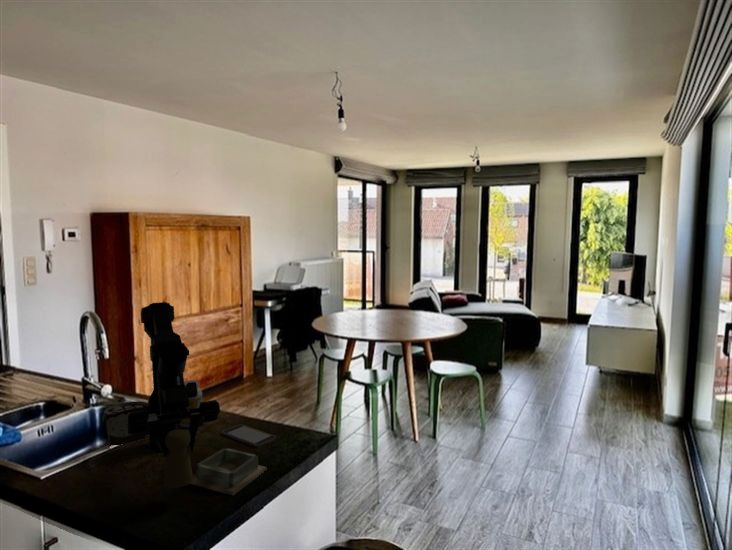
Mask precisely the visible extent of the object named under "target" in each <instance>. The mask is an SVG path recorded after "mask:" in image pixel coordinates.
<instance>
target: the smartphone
mask: <svg viewBox="0 0 732 550" xmlns="http://www.w3.org/2000/svg"><path fill="white" fill-rule="evenodd" d="M221 435H222V436H224V437H227V438H230V439H233V440H235V441H237V440H238V442H241V443H243V444H245V443H246V444H245V445H248V444H249V445H248V446H251V445H252V446H251V447H253V446H254V448H260V446H261V447H262V445H263V446H265V445H267V444H268V443H271V442H273V441H275V440H276V435H273V434H271V433H267V432H265V431H262V430H259V429H255V428H253V427H250V426H248V425H245V424H241V423H240V424H237V425H234V426H232V427H229V428H227V429H224V430H222V431H221ZM266 443H267V444H266ZM264 444H265V445H264Z"/></svg>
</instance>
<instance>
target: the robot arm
mask: <svg viewBox="0 0 732 550" xmlns="http://www.w3.org/2000/svg"><path fill="white" fill-rule="evenodd" d="M174 320H176V319H175V306H174V305H172V304H171V303H170V302H166V301H163V302H152V303H149V305H147V306H144V307H142V308H141V310H140V323H141V324H143V331H144V332H145V333H146V335H147V336H148V337H149V339H150V345H149V358H150V361H151V365H152V366H151V367H152V370H151V371H152V387H153V390H152V392H151V394H150V396H149V398H148V401H147V403H148V406H146V410H140V411H133V412H130V413H129V414H128V434H136V433H142V432H144V431H145V435H146V436H149V443H148V444H146V445H145V446H144V448H145V449H149V450H151V451H156V452H161V454H162V456H163V458H166V456H167V447H166V446H165V436H166V435H167V433H169V432H170V431H173V430H177V425H180V422H181V421H182V419H188V418H190V420H191V421H190V425H189V427H188V428H189V430H188V432H189V434H190V443H189V453H193V451H194V448H195V447H194V446H195V442H196V436H197V432H198V428H199V427H203V426H204V423H210V422H215V421H217V420H218V417H219V416H220V415H219V414H220V411H221V409H220V402H219V401H217V400H216V399H214V400H207V401H202V402H200V406H199V408H195V409H188V408H187V407H189V398H192V397H196V396H197V385H196V382H190V383H187V386H185V385H184V382H185V378H184V372H185V370H186V365H187V359H188V357H189V356H190V349H188V347H187V346H186V345H185V343H184V342H182V338H181V335H180V334H178V333H176V332H174V328H173V323H172V322H174Z"/></svg>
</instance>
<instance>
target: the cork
mask: <svg viewBox="0 0 732 550" xmlns="http://www.w3.org/2000/svg"><path fill="white" fill-rule="evenodd" d="M165 446H166V447H167V450H166V457H165V464H164V473H163V479H162V480H163V481H162V482H163V483H162V484H163V486H164V487H165V488H170V489H178V488H179V489H180V488H183V487H185V486H188V485H190V484H189V483H191V482H192V480H193V476H194V474H193V470H192V464H191V457H190V449H189V446H190V434H189V430H187V429H182V428H176V430H173V431H170V432H169V433H167V435H166V436H165Z"/></svg>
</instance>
